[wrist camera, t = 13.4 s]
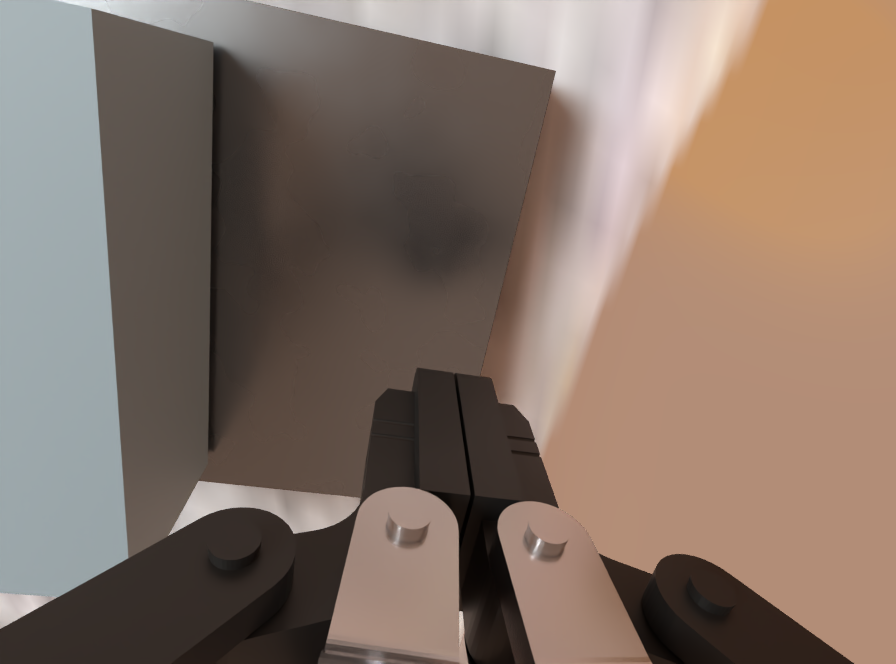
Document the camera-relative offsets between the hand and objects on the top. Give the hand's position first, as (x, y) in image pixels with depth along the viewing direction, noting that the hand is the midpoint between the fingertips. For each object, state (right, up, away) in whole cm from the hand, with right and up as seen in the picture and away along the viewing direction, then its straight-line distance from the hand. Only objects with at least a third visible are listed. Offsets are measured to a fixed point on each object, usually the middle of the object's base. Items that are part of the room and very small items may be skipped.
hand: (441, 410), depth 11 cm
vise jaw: (-8, +3, +3) cm, 9 cm away
